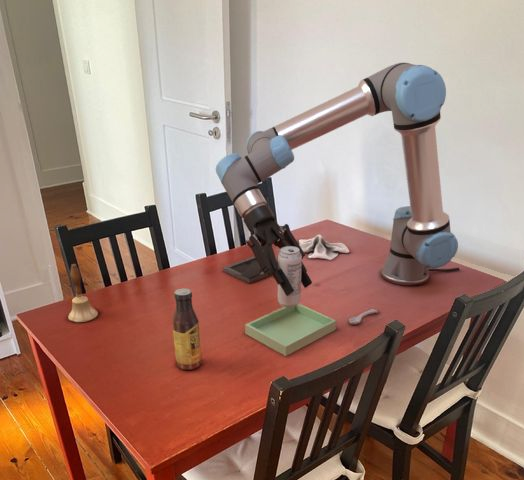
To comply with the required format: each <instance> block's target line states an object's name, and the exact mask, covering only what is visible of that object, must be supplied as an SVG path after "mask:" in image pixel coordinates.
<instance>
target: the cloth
mask: <svg viewBox="0 0 524 480" xmlns="http://www.w3.org/2000/svg"><path fill="white" fill-rule="evenodd" d="M298 244H299V245H300V247H301V249H302V250H303V252H304V253H305V254H307V253H308V255H307V258H308V259H319V260H329V261H332V260H334V259H335V258H337V257H338V255H339V253H341V254H349V253H350V252H351V251H350V249H349V248H348V247H347V245H346V244H345V243H344V242H329V241H327V240H326V239H325V237H324V236H323V235H322V234H317V235H316V236H314V237H311V238H309V239H298Z"/></svg>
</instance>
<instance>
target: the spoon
mask: <svg viewBox="0 0 524 480" xmlns="http://www.w3.org/2000/svg"><path fill="white" fill-rule="evenodd" d="M378 312H379V310H377V309H375V308H371V309H369V310H366V311H364V312H362V313H360V314H359V315H357V316H352V317H350V318H349V319H348V322H349V324H351V325H358V324H360V323H361V322H362V319H363V318H364V317H367V316H368V315H371V314H377V313H378Z"/></svg>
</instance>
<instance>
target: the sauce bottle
mask: <svg viewBox="0 0 524 480" xmlns="http://www.w3.org/2000/svg"><path fill="white" fill-rule="evenodd" d="M173 293H174V295H173V296H174V300H175V309H176V310H175V311H174V313H173V315H172V333H173V343H174V353H175V360H176V365H177V368H179V369H180V370H185V371H192V370H195V369H197V368H198V367H200V366H201V364H202V349H201V334H200V323H199V321H200V320H199V318H198V316H197V314H196V312H195V310H194V307H193V306H194V305H193V301H192V299H193V291H192V290H191V289H190V288H186V287H183V288H177V289H176V290H174V292H173Z"/></svg>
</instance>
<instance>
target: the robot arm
mask: <svg viewBox="0 0 524 480" xmlns="http://www.w3.org/2000/svg"><path fill="white" fill-rule="evenodd" d="M446 97H447V88H446V82H445V80H444V78H443V77H442V74H440V73H439V71H436V70H435V69H433V68H432V67H430V66H428V65H425V64H413V63H409V62H398V63H397V62H396V63H394V64H391V65H389V66H387V67H385V68H383V69H381V70H379V71H377V72H375V73H373V74H371V75H369V76H368V77H367V76H366V77H365V78H363V79H361V80H360V81H359V82H358V85H357V86H356V87H354V88H351V89H350V90H348V91H347V90H346V91H345V92H342V93H341V94H339V95H337V96H335V97H332V98H331V99H328V100H327V101H325V102H323V103H320V104H318V105H316V106H314V107H311V108H310V109H308V110H305V111H303V112H301V113H299V114H297V115H295V116H293V117H291V118H289V119H286V120H285V121H283V122H280V123H278V124H276V125H274V126H272V127H270V128H268V129H265V130H256V131H254V132H252V133H251V134H250V135H249V136H248V138H247V140H246V150H247V155H244V156H243V157H242V156H241V155H240V154H239V153H236V152H234V153H230V154H228V155H225V156H223V157H222V158H221V159H219V161H218V162H217V164H216V166H215V172H216V175H217V177H218V179H219V181H220V183H221V185H222V186H223V189H224V190H225V191H226V193H227V196H229V198H230V200H231V202H232V203H233V205H234V207H235V210H237V213H238V214H239V216H240V217H241V218H242V219H243V223H244V225H245V227H246V228H247V231H249V232H250V233H251V235H250V236H249V237H248V238H247V239H246V240H245V243H246V245H247V246H248V247H249V248H250V249H251V251H252V253H253V256H255V257H256V259H257V261H258V263H259V265H260V267H261V269H262V271H263V273H264V274H267V273H268V274H269V275H270V276H272V277H273V279H274V280H275V282H276V284H277V286H278V285H279V284H280V286H281V287H282V289H283V291H284V293H285V294H286V296H288V295H290V294H291V293H292V292H293V291H294V289H293V288H292V286H291V284H290V283H289V281H288V279H287V277H286V276H285V274H284V272H283V270H282V269H279V270H278V266H277V262H276V259H277V258H276V255H275V252H274V248H273V245H274V247H278V249H279V250H280V249H281V248H282V247H286V246H294V247H297V248H299V250H300V251H299V252H300V253H301V255H302V260H304V258H305V256H306V253H304V252H303V250H302V249H301V247H300V245H299V244H300V243H299V241H297V239H296V238H295V236H294V235H293V233H292V231H291V228H290V225H289V224H288V223H285V224H284V225H280V224H279V223H278V222H277V221H276V220H275V214H274V213H273V211H272V209H271V207H270V206H269V205H267V204H268V202H267V200H266V199H265V197H264V195H263V194H262V192H261V190H260V188H259V187H258V185H259V184H261V183H262V182H264V181H265V180H267V179H269V178H270V177H272V176H273V175H275V174H277V173H279V172H280V171H282V170H284V169H286V167H288V166H289V165H290V164H292V163H293V162H294V161H295V154H294V152H293V150H294V149H296V148H299V147H302V146H303V145H306V144H307V143H310V142H312V141H314V140H316V139H318V138H320V137H322V136H325V135H327V134H329V133H331V132H333V131H335V130H338V129H339V128H342V127H344V126H346V125H348V124H350V123H352V122H355V121H357V120H358V119H359V120H360V119H361V118H364V117H365V116H370V117H374V116H376V115H379V114H381V113H384V112H391V116H392V123H393V129H394V131H396V132H397V133H399V134H400V136H401V137H400V138H401V145H402V151H403V160H404V168H405V176H406V183H407V191H408V192H407V193H408V198H409V199H408V200H409V205H407V206H400V207H398V208H397V209H396V210H395V211H394V216H393V218H392V221H393V223H392V230H391V239H390V247H389V253H388V255H387V256H386V259H385V261H384V263H383V265H382V267H381V273H380V276H381V277H382V279H383V280H385V281H386V282H388V283H390V284H394V285H398V286H403V287H414V286H421V285H424V284H426V283H427V282H428V281H429V279H430V272H438V273H439V272H440V273H441V272H443V273H444V272H445V273H446V272H454V271H455V272H456V271H460V267H453V268H452V267H451V268H442V267H444V266H446V265H447V264H449V263H450V262H451V261H452V259H453V258H454V257H455V256H456V255H457V252H458V249H459V241H458V239H457V237H456V235H455V234H454V233H453V232H451V231H452V230H451V221H450V215H449V214H448V213H447V212H445V211H444V209H443V197H442V185H441V177H440V176H441V175H440V166H439V154H438V144H437V131H436V126H437V124H438V123H439V122H440V120H441V119H442V117H441V116H442V115H441V110H442V108H443V105H444V104H445V102H446ZM312 284H313V281H312V280H311V278H310V276H309V274H308V269H307V268H306V266H305V264H304V262H303V261H302V267H301V285H302V286H303V288H305V289H306V288H308V287H309V286H310V285H312Z"/></svg>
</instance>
